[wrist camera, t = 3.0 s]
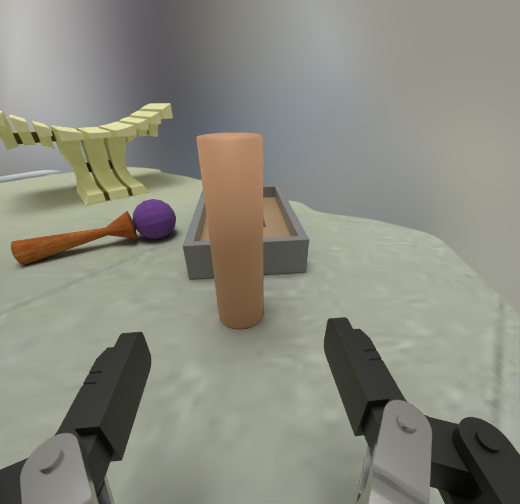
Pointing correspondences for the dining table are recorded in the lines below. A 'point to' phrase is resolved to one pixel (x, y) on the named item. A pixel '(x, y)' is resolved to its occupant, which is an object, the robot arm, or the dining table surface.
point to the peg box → (274, 238)
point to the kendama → (101, 232)
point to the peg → (235, 222)
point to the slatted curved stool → (93, 150)
